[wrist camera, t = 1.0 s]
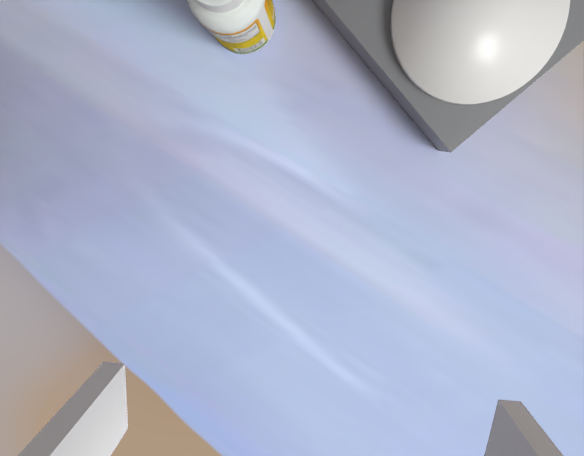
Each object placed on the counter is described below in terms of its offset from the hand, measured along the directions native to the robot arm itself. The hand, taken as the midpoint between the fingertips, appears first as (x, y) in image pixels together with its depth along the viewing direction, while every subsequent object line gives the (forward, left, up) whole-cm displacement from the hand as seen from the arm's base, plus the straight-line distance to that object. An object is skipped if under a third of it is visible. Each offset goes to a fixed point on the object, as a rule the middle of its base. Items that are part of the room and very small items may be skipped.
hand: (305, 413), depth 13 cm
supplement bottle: (-18, +9, -22) cm, 30 cm away
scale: (-8, +21, -22) cm, 31 cm away
